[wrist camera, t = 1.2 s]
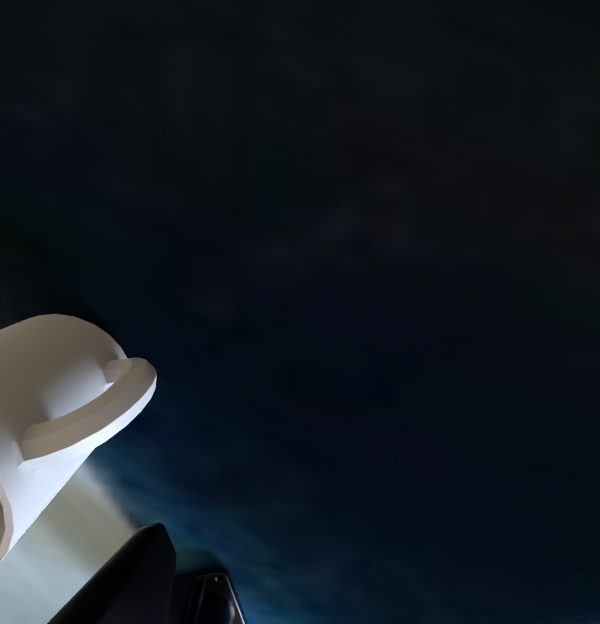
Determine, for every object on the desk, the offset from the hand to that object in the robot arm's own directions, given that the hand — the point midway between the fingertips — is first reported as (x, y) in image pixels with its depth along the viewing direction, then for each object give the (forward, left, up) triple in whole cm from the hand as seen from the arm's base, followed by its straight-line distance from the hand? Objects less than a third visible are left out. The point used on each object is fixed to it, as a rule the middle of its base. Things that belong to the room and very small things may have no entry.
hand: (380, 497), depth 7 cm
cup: (0, +13, -12) cm, 18 cm away
